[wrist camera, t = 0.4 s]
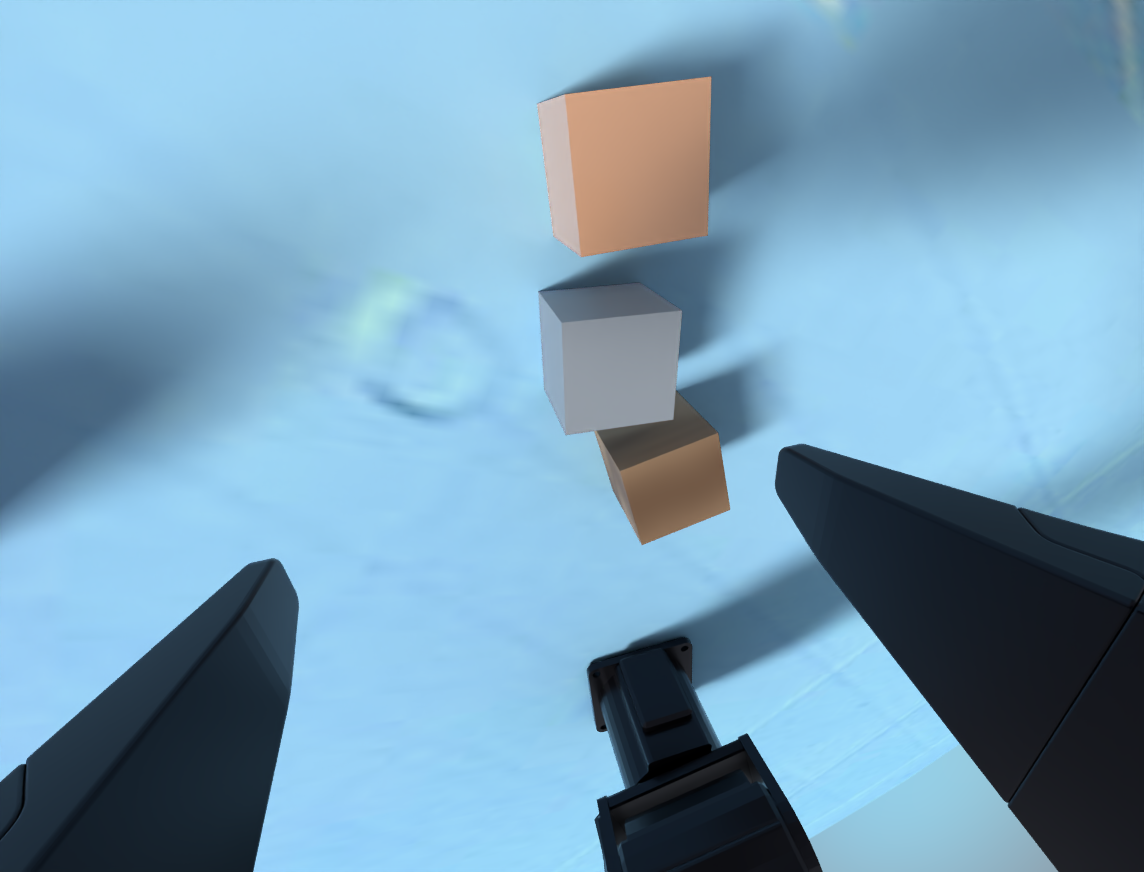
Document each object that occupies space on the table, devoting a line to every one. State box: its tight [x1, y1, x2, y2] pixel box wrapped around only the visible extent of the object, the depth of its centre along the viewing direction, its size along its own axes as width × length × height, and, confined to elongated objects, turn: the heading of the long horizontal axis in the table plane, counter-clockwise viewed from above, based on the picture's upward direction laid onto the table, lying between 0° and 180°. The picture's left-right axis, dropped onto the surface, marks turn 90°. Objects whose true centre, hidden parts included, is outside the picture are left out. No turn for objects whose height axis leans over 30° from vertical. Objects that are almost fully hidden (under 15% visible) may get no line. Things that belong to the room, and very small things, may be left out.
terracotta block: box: [537, 77, 711, 257], centre depth 16 cm, size 4×4×4 cm
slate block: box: [538, 283, 682, 435], centre depth 19 cm, size 4×4×4 cm
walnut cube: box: [595, 391, 730, 545], centre depth 22 cm, size 4×4×4 cm
